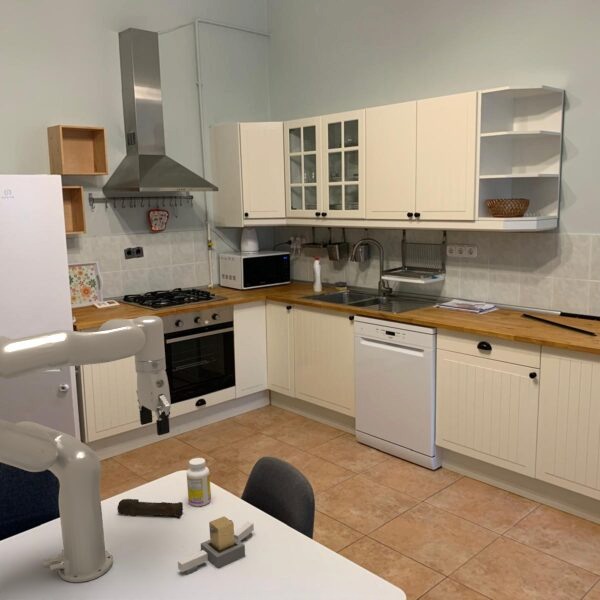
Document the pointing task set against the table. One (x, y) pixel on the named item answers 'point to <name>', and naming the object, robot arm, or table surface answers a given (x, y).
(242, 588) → the table surface
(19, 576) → the table surface
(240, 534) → the socket
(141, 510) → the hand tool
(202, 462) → the supplement bottle
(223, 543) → the tan wooden block
